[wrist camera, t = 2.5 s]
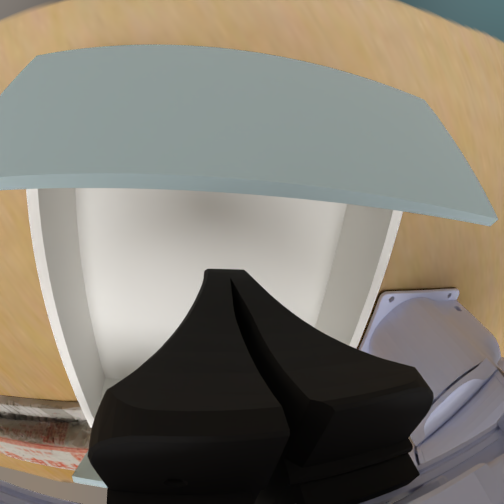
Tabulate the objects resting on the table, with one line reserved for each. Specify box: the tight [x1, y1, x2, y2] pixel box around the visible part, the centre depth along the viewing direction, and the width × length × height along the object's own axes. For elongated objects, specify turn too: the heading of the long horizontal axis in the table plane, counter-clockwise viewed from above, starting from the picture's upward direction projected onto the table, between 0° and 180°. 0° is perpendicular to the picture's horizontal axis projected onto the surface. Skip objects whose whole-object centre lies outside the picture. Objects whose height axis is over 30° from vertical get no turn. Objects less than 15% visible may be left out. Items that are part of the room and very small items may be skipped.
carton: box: [26, 188, 403, 428], centre depth 16 cm, size 16×21×5 cm
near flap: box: [0, 45, 498, 226], centre depth 7 cm, size 15×6×1 cm
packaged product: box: [0, 395, 92, 470], centre depth 21 cm, size 18×5×10 cm
